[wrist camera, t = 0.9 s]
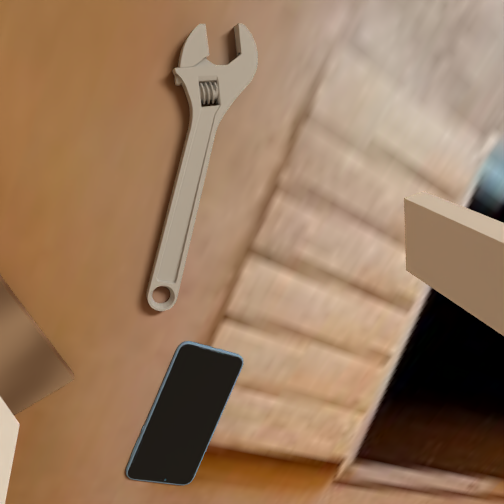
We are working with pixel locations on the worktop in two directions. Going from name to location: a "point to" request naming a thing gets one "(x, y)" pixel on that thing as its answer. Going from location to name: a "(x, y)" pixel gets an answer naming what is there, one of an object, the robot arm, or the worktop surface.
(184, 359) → the smartphone
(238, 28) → the adjustable wrench
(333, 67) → the worktop surface
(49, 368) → the socket plate
